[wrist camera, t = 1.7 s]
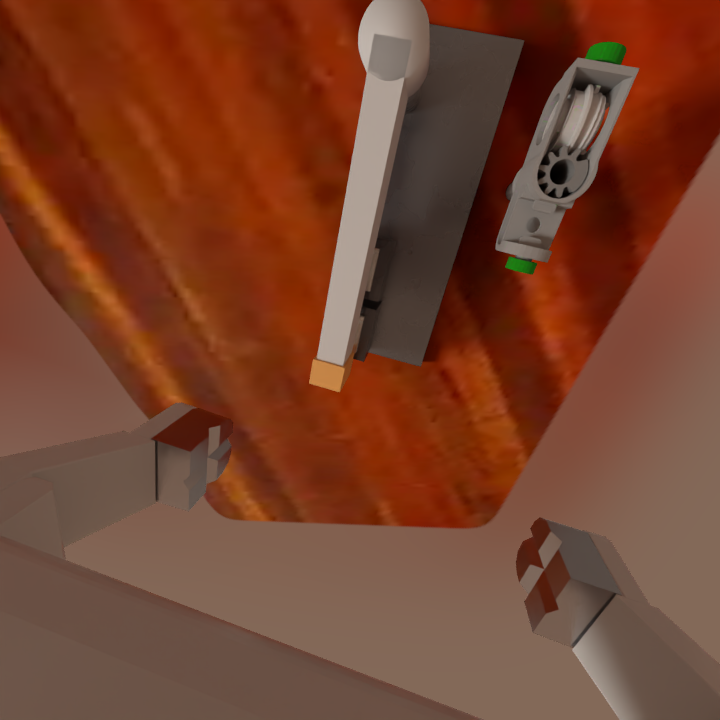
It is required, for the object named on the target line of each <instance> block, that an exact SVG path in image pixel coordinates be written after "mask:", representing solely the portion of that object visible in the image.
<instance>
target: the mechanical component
mask: <svg viewBox="0 0 720 720" xmlns="http://www.w3.org/2000/svg"><path fill="white" fill-rule="evenodd" d="M625 53H626V47H625V46H624V45H622V44H619V43H615V42H602V43H598V44H595V45H593V46H591V47H590V48H589V50H588V52H587V55H586V57H585V59H583V58H577V59H576V60H575V62H574V63H573V64H572V65H571V66H570V67H569V69H568V70H567V71H566V72H565V73H564V75H563V77H562V79H561V80H560V81H559V82H558V83H557V85H556V86H555V87H554V89H553V91H552V93H551V94H550V96H549V98H548V101H547V103H546V105H545V107H544V110H543V112H542V115H541V117H540V120H539V123H538V126H537V128H536V131H535V134H534V137H533V139H532V142H531V145H530V148H529V151H528V153H527V156H526V159H525V162H524V164H523V167H522V168H521V169H520V170H519V172H518V173H517V174H516V176H515V178H514V181H513V182H512V183H511V184H510V185H509V186H508V188H507V190H506V197H507V199H508V200H510V203H509V206H508V209H507V212H506V214H505V217H504V220H503V223H502V225H501V228H500V231H499V234H498V237H497V241H496V250H498V251H501V252H505V253H509V254H513V255H516V257H515V258H514V257H509V259H508V261H507V264H506V266H505V268H508V269H511V270H515V271H519V272H523V273H527V274H533V273H534V270H535V268H536V265H537V263H534V262H531V261H532V259H534V260H538V261H543V262H548V260H549V258H550V255H551V253H552V251H548V250H549V248H550V246H551V243H552V241H553V238H554V236H555V234H556V231H557V229H558V227H559V224H560V222H561V220H562V217H563V215H564V213H565V210H566V209H568V208H572V206H573V203H574V201H575V199H576V198H578V197H579V196H580V195H582V194H583V193H584V192H585V191H586V190H587V189H588V188H589V186H590V185H591V184H592V182H593V180H594V178H595V176H596V173H597V169H598V161H599V159H600V157H601V155H602V152H603V150H604V148H605V145H606V143H607V141H608V139H609V136H610V134H611V132H612V130H613V127H614V125H615V123H616V120H617V118H618V116H619V114H620V111H621V109H622V107H623V104H624V102H625V100H626V98H627V95H628V93H629V91H630V88H631V86H632V84H633V82H634V79H635V77H636V75H637V73H638V70H639V68H634V67H629V66H623V65H621V63H622V60H623V58H624V56H625ZM609 106H610V108H609V112H608V116H607V119H606V121H605V124H604V126H603V128H602V130H601V132H600V134H599V136H598V137H597V139H596V141H595V142H594V144H593V145H592V147H591V148H590V149H589V150H588V151H587V152H586V148H587V147H588V146H589V144H590V143H591V141H592V140H593V138H594V137H595V135H596V133H597V131H598V129H599V127H600V125H601V122H602V120H603V117H604V114H605V110H606V109H607V108H608V107H609Z"/></svg>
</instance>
